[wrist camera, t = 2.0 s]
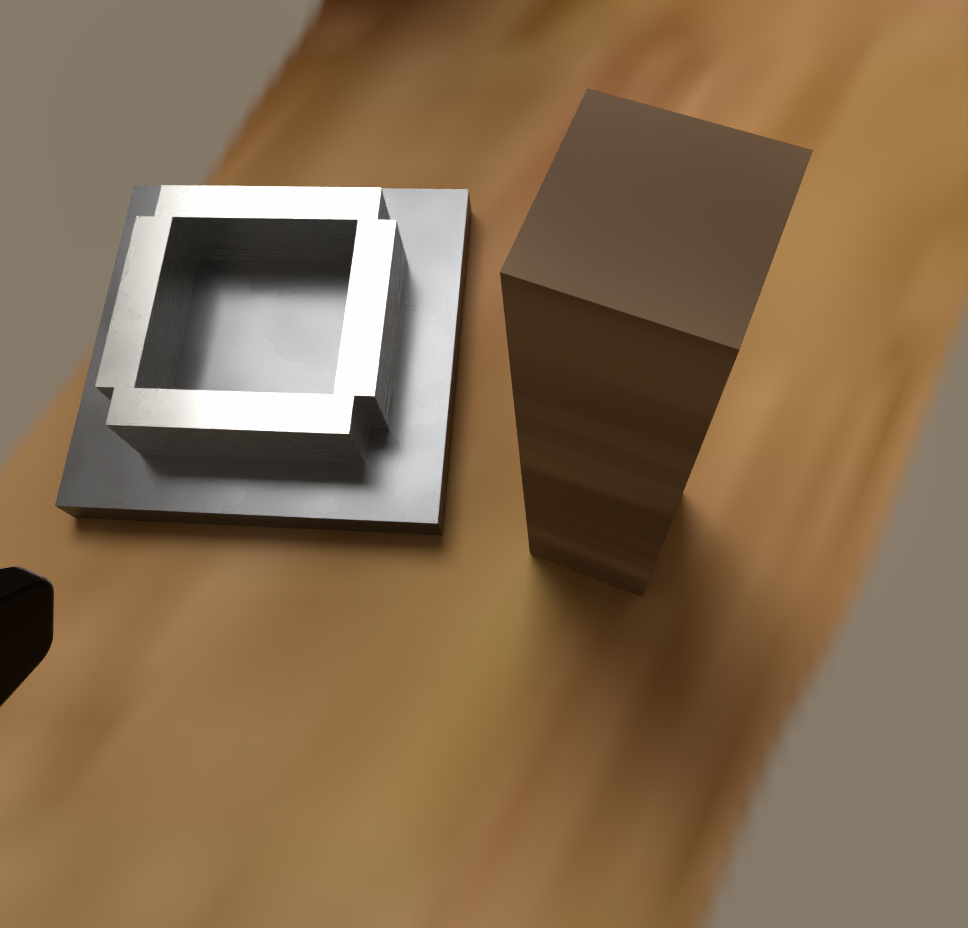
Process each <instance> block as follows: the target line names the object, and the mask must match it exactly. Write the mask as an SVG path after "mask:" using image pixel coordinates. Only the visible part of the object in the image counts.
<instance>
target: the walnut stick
mask: <svg viewBox="0 0 968 928" xmlns="http://www.w3.org/2000/svg"><path fill="white" fill-rule="evenodd" d="M812 151H813V150H810V149H806V148H803V147H799V146H795V145H792V144H788V143H785V142H781V141H777V140H774V139H770V138H766V137H763V136H759V135H755V134H752V133H748V132H744V131H741V130H737V129H733V128H730V127H726V126H723V125H719V124H715V123H712V122H708V121H704V120H701V119H697V118H693V117H690V116H686V115H682V114H679V113H675V112H672V111H668V110H664V109H661V108H657V107H653V106H650V105H646V104H642V103H639V102H635V101H631V100H628V99H624V98H620V97H617V96H613V95H610V94H606V93H602V92H599V91H595V90H591V89H587V91H586V93H585V95H584V97H583V99H582V101H581V103H580V106H579V108H578V110H577V112H576V114H575V116H574V118H573V120H572V122H571V124H570V127H569V129H568V131H567V133H566V135H565V137H564V139H563V141H562V143H561V145H560V148H559V150H558V152H557V154H556V156H555V158H554V160H553V162H552V164H551V166H550V168H549V171H548V173H547V175H546V177H545V179H544V181H543V183H542V185H541V187H540V189H539V192H538V194H537V196H536V198H535V200H534V202H533V204H532V206H531V208H530V210H529V213H528V215H527V217H526V219H525V221H524V223H523V225H522V227H521V229H520V231H519V233H518V236H517V238H516V240H515V242H514V244H513V246H512V248H511V250H510V252H509V254H508V257H507V259H506V261H505V263H504V265H503V267H502V269H501V271H500V276H501V285H502V295H503V304H504V313H505V323H506V332H507V342H508V351H509V361H510V370H511V379H512V389H513V398H514V408H515V417H516V426H517V436H518V445H519V455H520V464H521V474H522V483H523V492H524V502H525V511H526V521H527V530H528V539H529V549H530V553H533V554H535V555H538V556H540V557H543V558H546V559H548V560H551V561H553V562H556V563H558V564H561V565H563V566H566V567H569V568H571V569H574V570H576V571H579V572H581V573H584V574H587V575H589V576H592V577H594V578H597V579H599V580H602V581H605V582H607V583H610V584H612V585H615V586H617V587H620V588H623V589H625V590H628V591H630V592H633V593H635V594H638V595H641V596H642V595H643V592H644V590H645V587H646V584H647V582H648V579H649V577H650V574H651V572H652V569H653V567H654V564H655V562H656V559H657V557H658V554H659V552H660V549H661V547H662V544H663V542H664V539H665V536H666V534H667V531H668V529H669V526H670V524H671V521H672V519H673V516H674V514H675V511H676V509H677V506H678V504H679V501H680V499H681V496H682V493H683V491H684V488H685V486H686V483H687V481H688V478H689V476H690V473H691V471H692V468H693V466H694V463H695V461H696V458H697V456H698V453H699V451H700V448H701V445H702V443H703V440H704V438H705V435H706V433H707V430H708V428H709V425H710V423H711V420H712V418H713V415H714V413H715V410H716V408H717V405H718V402H719V400H720V397H721V395H722V392H723V390H724V387H725V385H726V382H727V380H728V377H729V375H730V372H731V370H732V367H733V365H734V362H735V360H736V357H737V354H738V352H739V349H740V347H741V344H742V341H743V339H744V336H745V333H746V330H747V328H748V325H749V322H750V319H751V317H752V314H753V311H754V309H755V306H756V303H757V300H758V298H759V295H760V292H761V290H762V287H763V284H764V281H765V279H766V276H767V273H768V271H769V268H770V265H771V262H772V260H773V257H774V254H775V252H776V249H777V246H778V243H779V241H780V238H781V235H782V233H783V230H784V227H785V224H786V222H787V219H788V216H789V214H790V211H791V208H792V205H793V203H794V200H795V197H796V195H797V192H798V189H799V186H800V184H801V181H802V178H803V176H804V173H805V170H806V167H807V165H808V162H809V159H810V157H811V154H812Z"/></svg>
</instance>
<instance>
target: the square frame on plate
mask: <svg viewBox="0 0 968 928" xmlns="http://www.w3.org/2000/svg"><path fill="white" fill-rule="evenodd" d="M470 221H471V204H470V197H469V190H468V189H382V188H364V187H274V186H183V185H182V186H180V185H174V186H173V185H162V186H134V188H133V192H132V196H131V200H130V204H129V208H128V212H127V216H126V220H125V224H124V229H123V233H122V237H121V241H120V245H119V249H118V253H117V257H116V261H115V265H114V269H113V273H112V277H111V281H110V285H109V290H108V293H107V297H106V302H105V306H104V310H103V314H102V318H101V322H100V326H99V330H98V334H97V338H96V342H95V346H94V350H93V354H92V358H91V362H90V366H89V370H88V374H87V378H86V383H85V387H84V391H83V395H82V399H81V403H80V407H79V411H78V415H77V419H76V423H75V427H74V431H73V435H72V439H71V443H70V447H69V451H68V455H67V460H66V464H65V468H64V472H63V476H62V480H61V484H60V488H59V492H58V496H57V500H56V504H55V506H56V507H58V508H60V509H61V510H63V511H65V512H66V513H68V514H70V515H71V516H73V517H79V518H100V519H121V520H142V521H163V522H184V523H205V524H226V525H247V526H268V527H289V528H310V529H331V530H352V531H373V532H394V533H416V534H437V535H442V533H443V522H444V511H445V499H446V488H447V477H448V466H449V455H450V444H451V433H452V422H453V410H454V399H455V388H456V377H457V366H458V355H459V344H460V333H461V322H462V310H463V299H464V288H465V277H466V266H467V255H468V244H469V233H470Z"/></svg>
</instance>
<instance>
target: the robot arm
mask: <svg viewBox="0 0 968 928" xmlns="http://www.w3.org/2000/svg"><path fill="white" fill-rule="evenodd" d="M53 613H54V589H53V586H52V584H51V582H50V581H49V580H48V579H47V578H45V577H43V576H40V575H38V574H36V573H34V572H32V571H29V570H27V569H25V568H21V567H9V568H4V569H0V707H1V705H2V704H3V703H4V702H5V701H6V700H7V699H8V698H9V697H10V696H11V694H12V693H13V692H14V691H15V690H16V689H17V688H18V687H19V686H20V684H21V683H22V682H23V681H24V680H25V679H26V678H27V677H28V676H29V675H30V673H31V672H32V671H33V670H34V669H35V668H36V667H37V666H38V665H39V663H40V662H41V661H42V660H43V659H44V657H45V656H46V654H47V653H48V651H49V649H50V646H51V643H52V640H53Z"/></svg>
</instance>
